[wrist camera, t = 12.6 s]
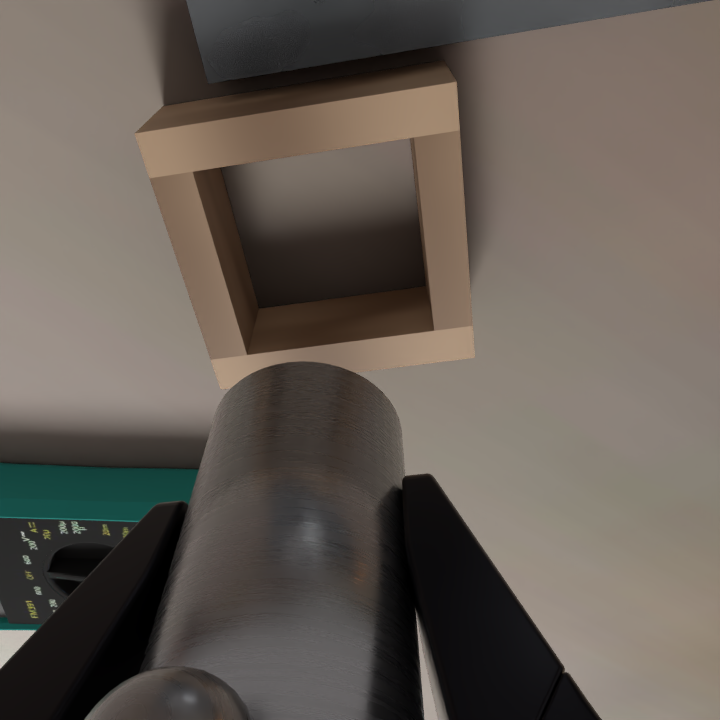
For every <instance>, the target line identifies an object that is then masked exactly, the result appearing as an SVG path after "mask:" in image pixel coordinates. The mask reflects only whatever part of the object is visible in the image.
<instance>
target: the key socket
mask: <svg viewBox="0 0 720 720" xmlns="http://www.w3.org/2000/svg"><path fill="white" fill-rule="evenodd" d="M135 136H136V139H137V142H138V145H139V148H140V151H141V154H142V157H143V160H144V163H145V166H146V169H147V172H148V175H149V178H150V181H151V184H152V187H153V190H154V193H155V196H156V199H157V202H158V205H159V208H160V211H161V214H162V217H163V219H164V222H165V225H166V228H167V231H168V234H169V237H170V240H171V243H172V246H173V249H174V252H175V255H176V258H177V261H178V264H179V267H180V270H181V273H182V276H183V279H184V282H185V285H186V288H187V291H188V294H189V297H190V300H191V303H192V306H193V309H194V312H195V315H196V317H197V320H198V323H199V326H200V329H201V332H202V335H203V338H204V341H205V344H206V347H207V350H208V353H209V356H210V359H211V362H212V365H213V368H214V371H215V374H216V377H217V380H218V383H219V386H220V389H229V388H232V387H233V386H234V385H235V384H236V383H238V382H239V381H240V380H241V379H243V378H245V377H246V376H248V375H250V374H251V373H253V372H256V371H258V370H260V369H262V368H265V367H269V366H272V365H276V364H281V363H286V362H299V361H306V362H319V363H326V364H330V365H334V366H338V367H342V368H344V369H347V370H349V371H352V372H354V373H356V372H364V371H372V370H380V369H388V368H396V367H404V366H412V365H420V364H428V363H436V362H444V361H452V360H460V359H468V358H475V352H474V337H473V322H472V307H471V292H470V277H469V261H468V246H467V231H466V216H465V201H464V186H463V171H462V156H461V140H460V125H459V110H458V95H457V82H456V80H455V78H454V77H453V75H452V73H451V71H450V70H449V68H448V66H447V65H446V63H445V61H444V60H442V61H436V62H430V63H424V64H418V65H412V66H406V67H399V68H393V69H387V70H381V71H375V72H369V73H363V74H357V75H351V76H345V77H338V78H332V79H326V80H320V81H314V82H308V83H302V84H296V85H290V86H284V87H277V88H271V89H265V90H259V91H253V92H247V93H241V94H235V95H229V96H223V97H216V98H210V99H204V100H198V101H192V102H186V103H180V104H174V105H168V106H163V107H162V108H161V109H160V110H159V111H158V112H157V113H155V114H154V115H153V116H152V117H151V118H150V119H149V120H148V121H147V122H146V123H145V124H144V125H143V126H142V127H141V128H140V129H139V130H138V131H137V132H136V133H135ZM407 138H410V142H411V151H412V160H413V169H414V179H415V188H416V197H417V206H418V216H419V225H420V234H421V243H422V253H423V262H424V271H425V280H426V286H424V287H416V288H409V289H402V290H394V291H387V292H379V293H372V294H365V295H357V296H350V297H343V298H335V299H328V300H320V301H313V302H306V303H298V304H291V305H283V306H276V307H269V308H261V309H259V307H258V303H257V300H256V296H255V292H254V289H253V285H252V281H251V278H250V274H249V270H248V267H247V263H246V259H245V256H244V252H243V248H242V245H241V241H240V237H239V234H238V230H237V226H236V223H235V219H234V215H233V212H232V208H231V205H230V201H229V197H228V194H227V190H226V186H225V183H224V179H223V175H222V172H221V168H220V167H226V166H232V165H239V164H245V163H252V162H258V161H265V160H271V159H278V158H284V157H291V156H297V155H304V154H310V153H316V152H323V151H329V150H336V149H342V148H349V147H355V146H362V145H368V144H375V143H381V142H388V141H394V140H401V139H407Z"/></svg>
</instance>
